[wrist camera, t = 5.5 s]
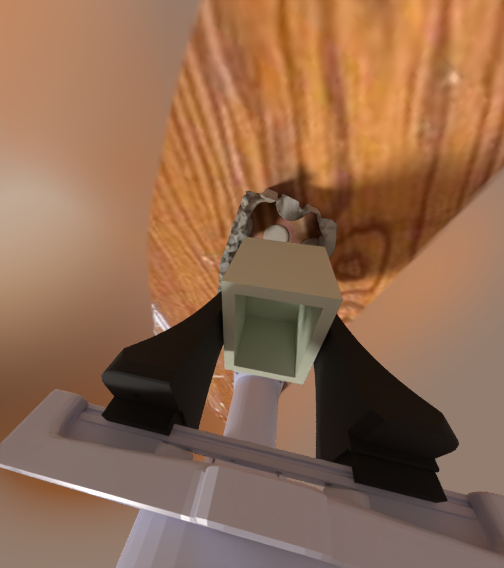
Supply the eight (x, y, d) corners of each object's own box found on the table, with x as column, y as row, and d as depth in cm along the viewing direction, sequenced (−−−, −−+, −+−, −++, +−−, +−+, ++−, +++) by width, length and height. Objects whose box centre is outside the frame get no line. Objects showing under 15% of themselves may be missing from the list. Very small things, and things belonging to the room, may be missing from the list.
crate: (300, 324, 16) (303, 384, 12) (241, 314, 16) (224, 368, 12) (325, 247, 11) (343, 299, 7) (244, 236, 12) (220, 280, 8)
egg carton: (254, 175, 14) (243, 182, 11) (340, 216, 15) (355, 234, 12) (218, 278, 20) (204, 302, 17) (280, 304, 21) (278, 332, 18)
